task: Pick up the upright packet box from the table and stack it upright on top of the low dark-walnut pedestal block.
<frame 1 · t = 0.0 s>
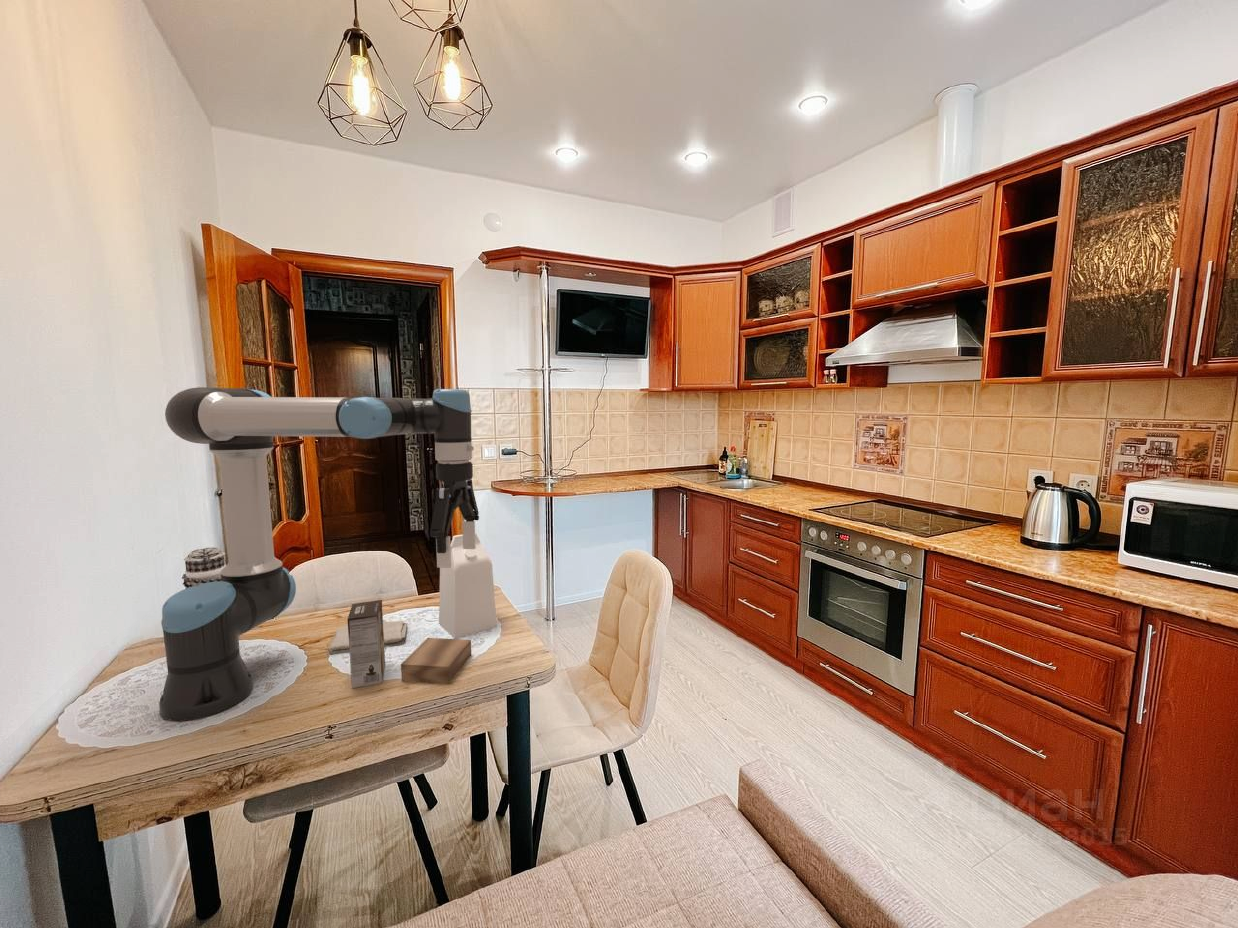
hand: (457, 557, 112), 28 cm above the table, fingers open, 13 cm apart
milk: (467, 625, 142), on the table
pedestal: (438, 667, 119), on the table
washcloth: (370, 642, 133), on the table
coffee box: (369, 676, 115), on the table
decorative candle: (213, 646, 130), on the table
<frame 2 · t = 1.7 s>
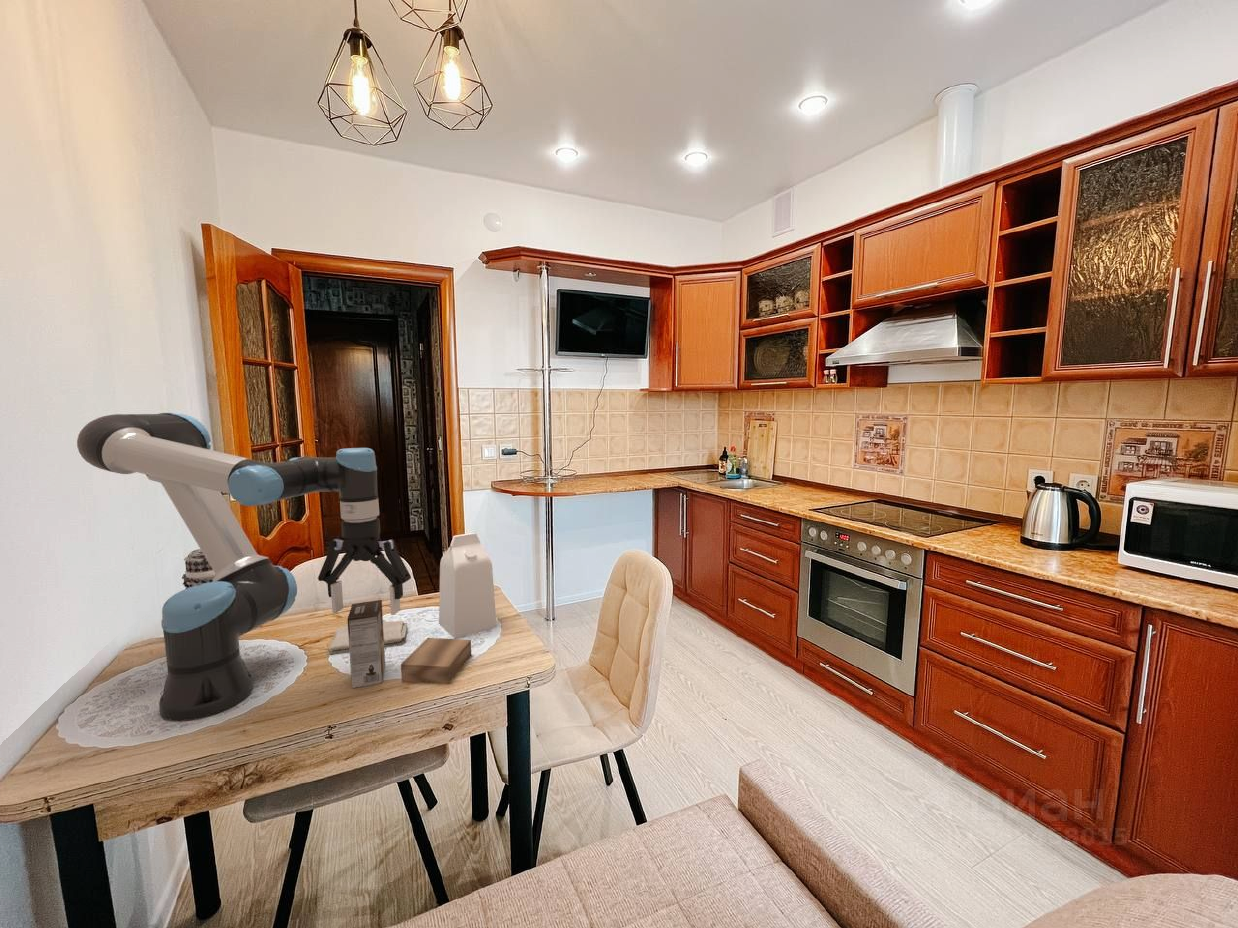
hand: (366, 611, 114), 15 cm above the table, fingers open, 13 cm apart
nothing on the table moved.
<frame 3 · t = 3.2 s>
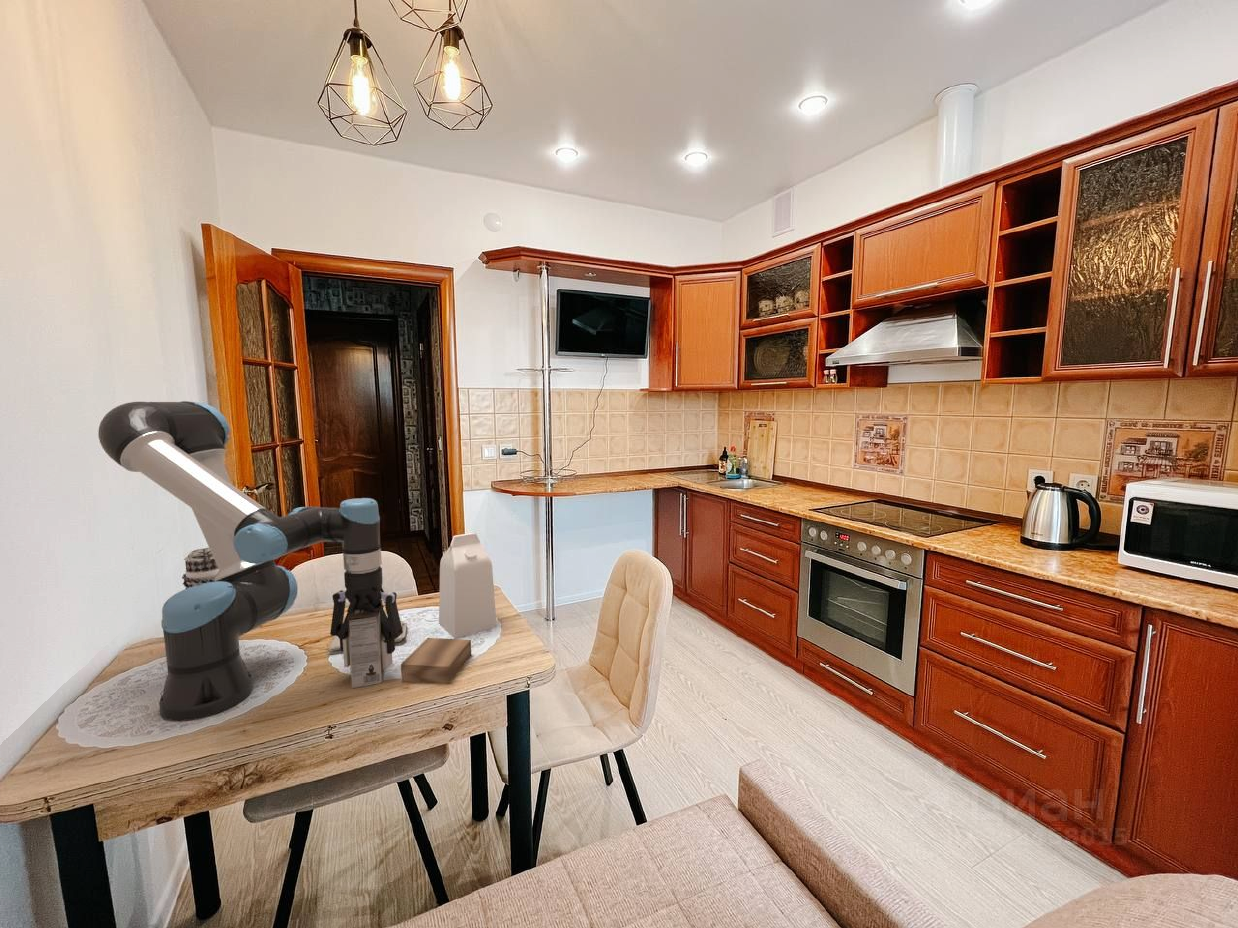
hand: (368, 665, 115), 3 cm above the table, fingers closed on coffee box, 8 cm apart
coffee box: (369, 676, 115), on the table, touching gripper
everything else where it was.
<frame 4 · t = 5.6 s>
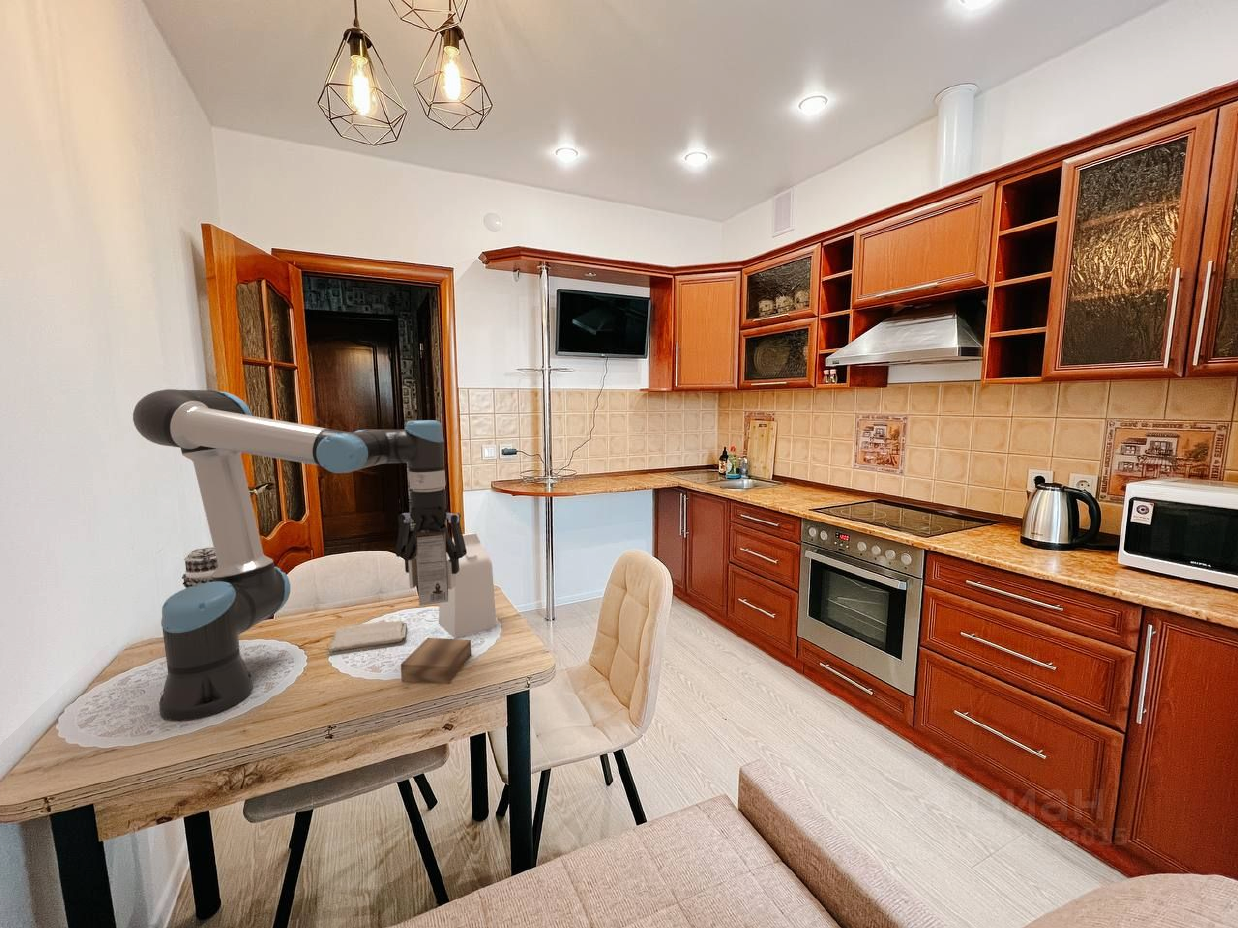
hand: (433, 586, 117), 20 cm above the table, fingers closed on coffee box, 8 cm apart
coffee box: (433, 597, 117), point 17 cm above the table, touching gripper
everything else where it was.
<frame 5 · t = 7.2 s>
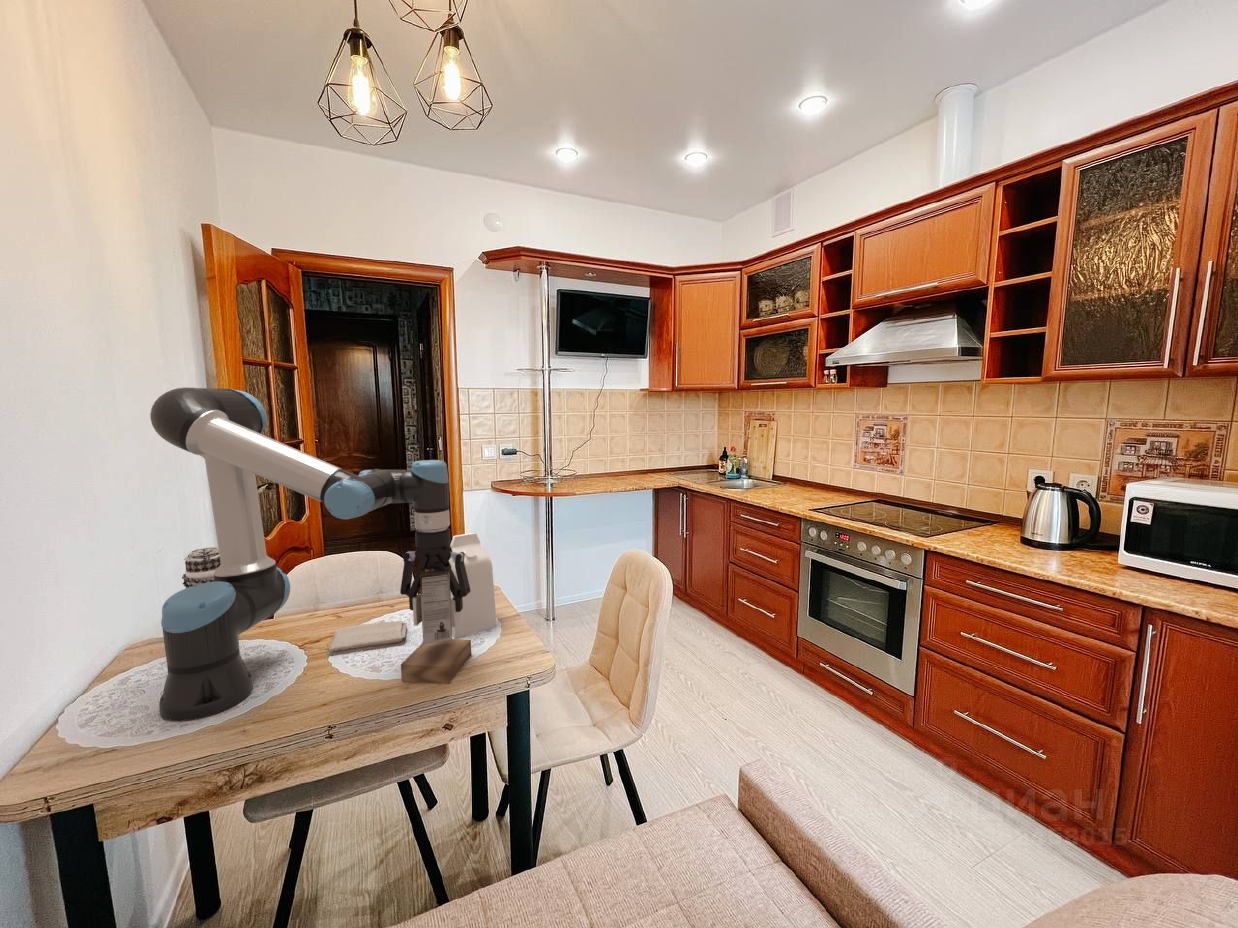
hand: (436, 623, 118), 11 cm above the table, fingers closed on coffee box, 8 cm apart
coffee box: (437, 634, 118), point 8 cm above the table, touching gripper
everything else where it was.
when the fingers open (8 cm above the table, at t = 8.3 s): coffee box stays where it is, resting on pedestal.
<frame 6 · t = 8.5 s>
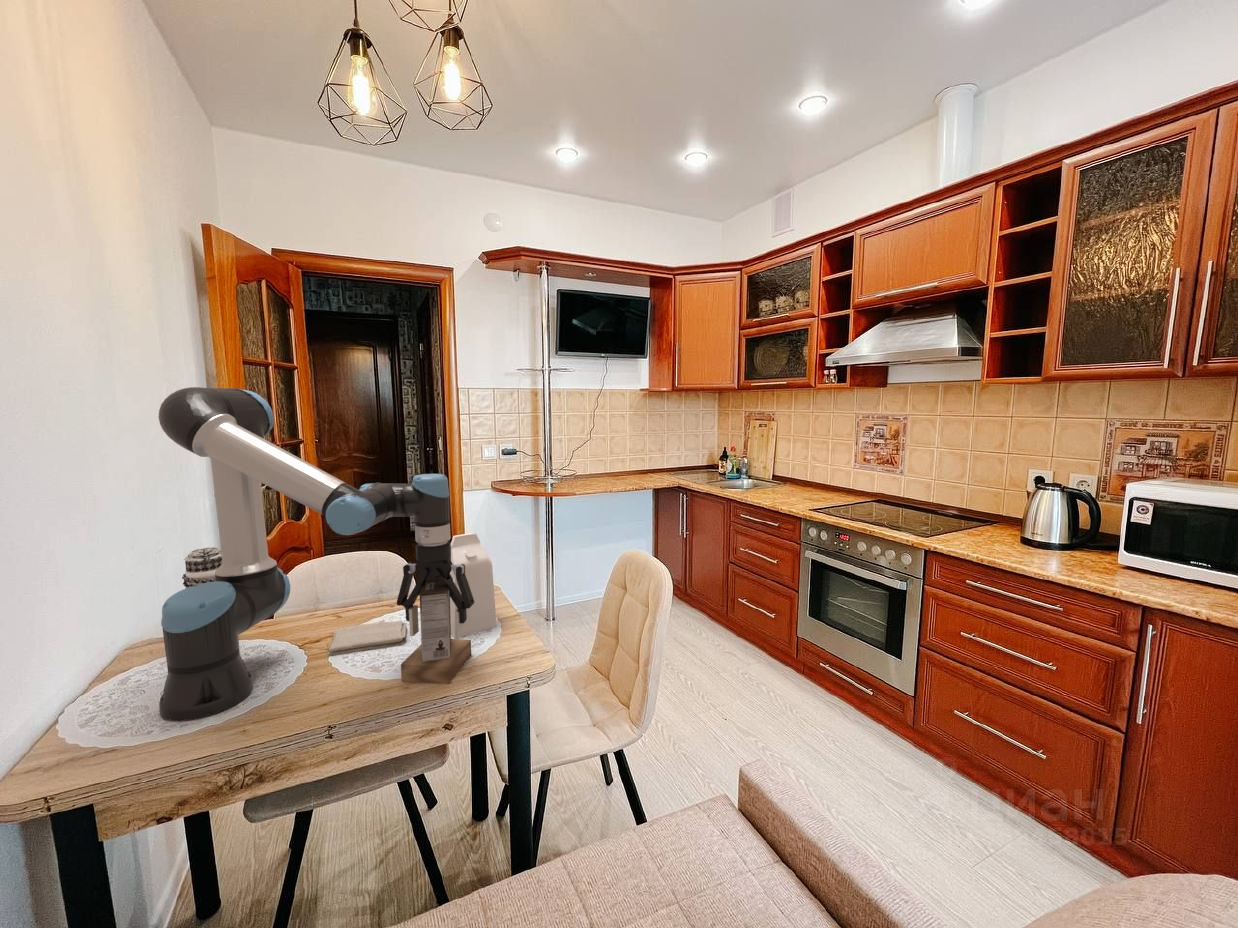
hand: (436, 634, 118), 8 cm above the table, fingers open, 10 cm apart
coffee box: (437, 652, 119), point 4 cm above the table, touching pedestal
everything else where it was.
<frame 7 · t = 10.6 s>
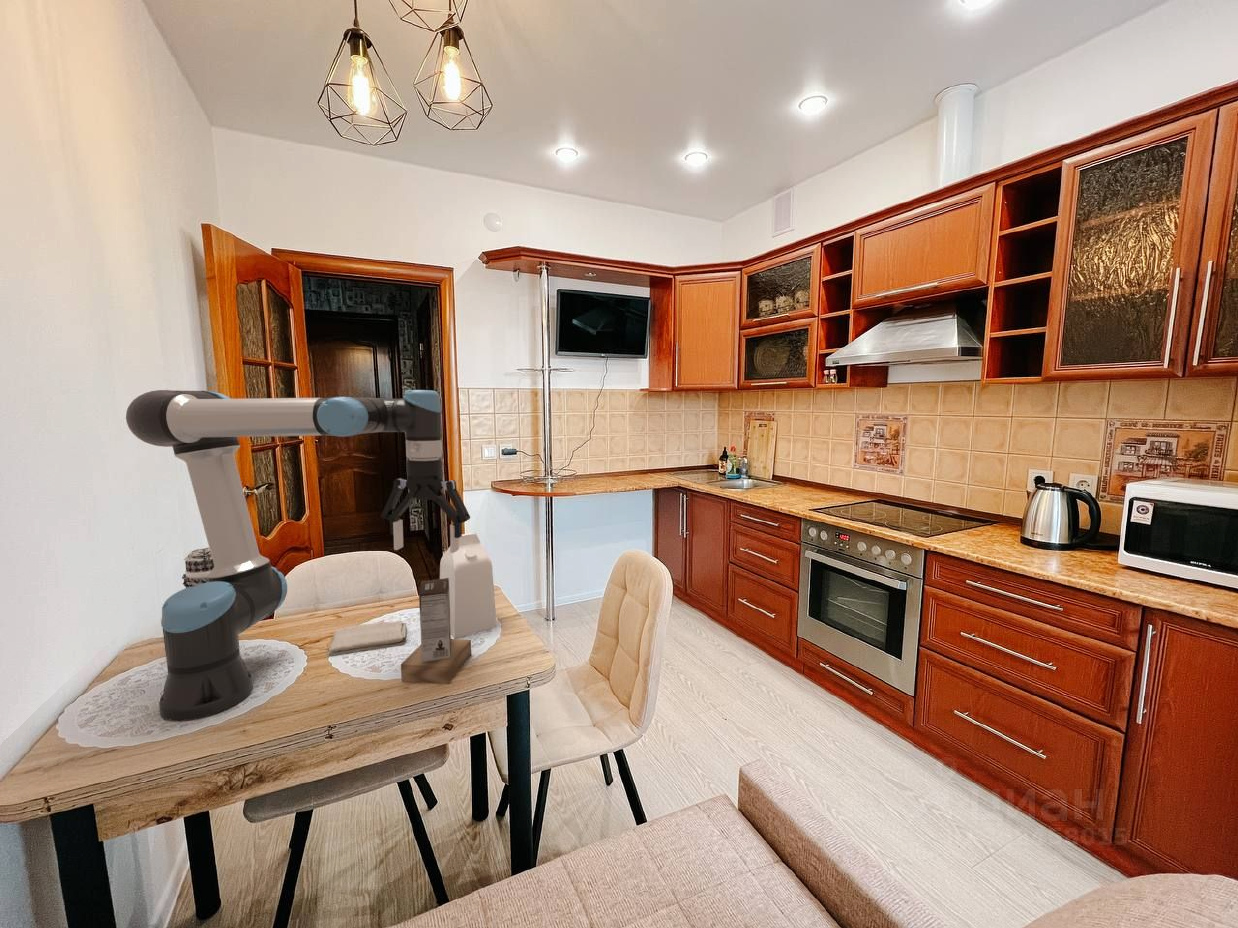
hand: (426, 549, 118), 28 cm above the table, fingers open, 13 cm apart
nothing on the table moved.
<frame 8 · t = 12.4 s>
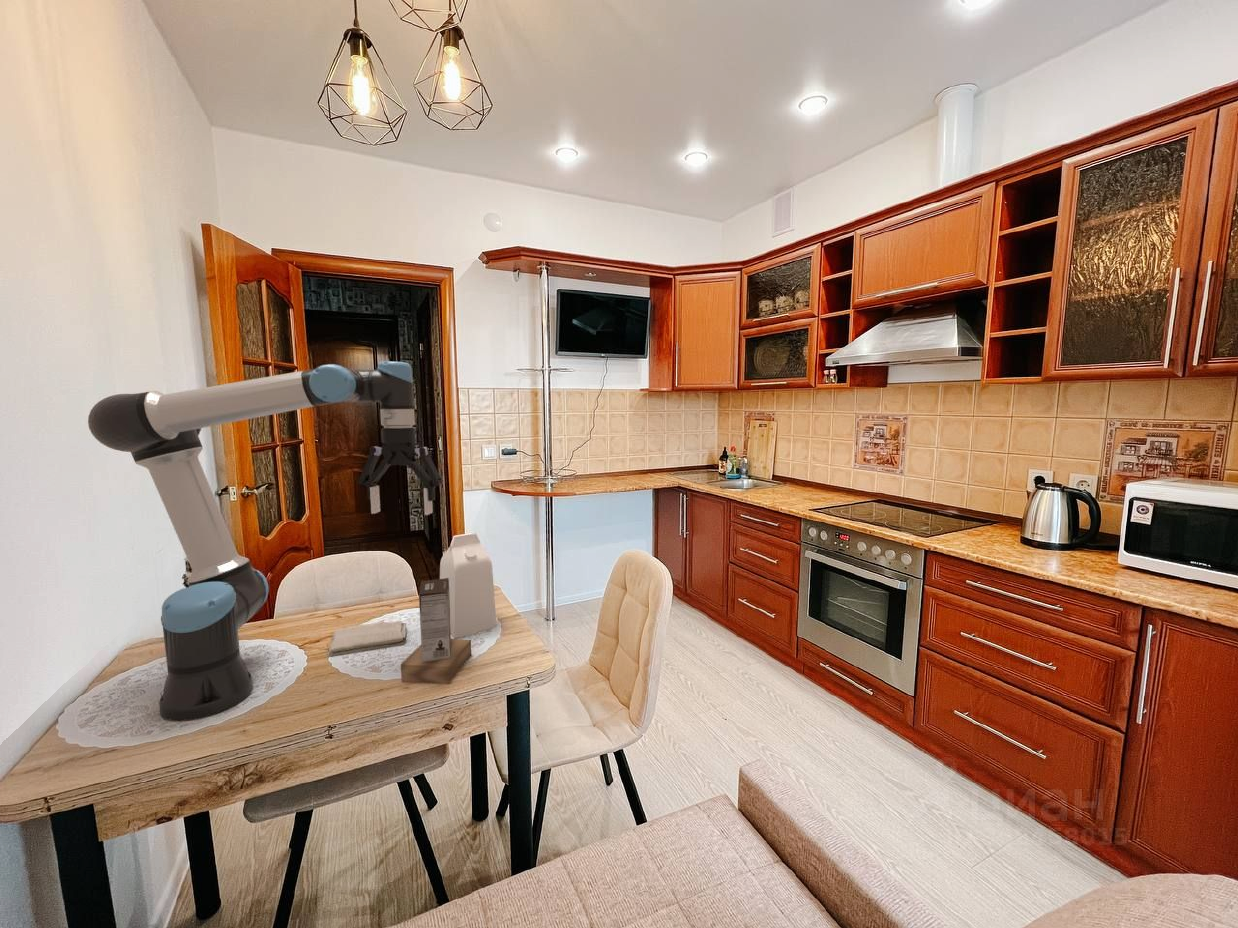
hand: (402, 513, 125), 35 cm above the table, fingers open, 13 cm apart
nothing on the table moved.
at the end: coffee box inside the target area on the pedestal (0.1 cm from its centre), point 3.8 cm above the pedestal's base; coffee box tilted 0°; the gripper is holding nothing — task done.
